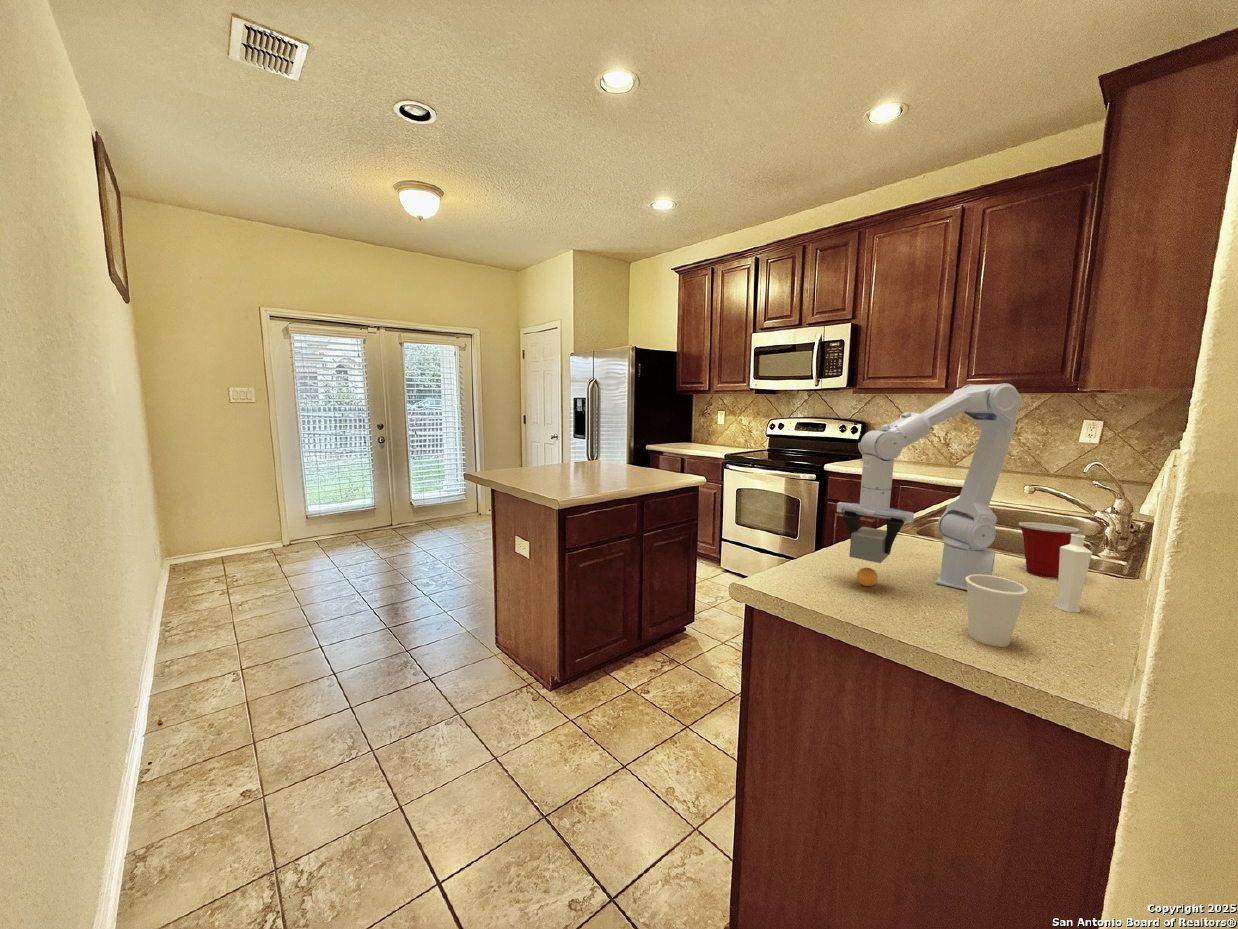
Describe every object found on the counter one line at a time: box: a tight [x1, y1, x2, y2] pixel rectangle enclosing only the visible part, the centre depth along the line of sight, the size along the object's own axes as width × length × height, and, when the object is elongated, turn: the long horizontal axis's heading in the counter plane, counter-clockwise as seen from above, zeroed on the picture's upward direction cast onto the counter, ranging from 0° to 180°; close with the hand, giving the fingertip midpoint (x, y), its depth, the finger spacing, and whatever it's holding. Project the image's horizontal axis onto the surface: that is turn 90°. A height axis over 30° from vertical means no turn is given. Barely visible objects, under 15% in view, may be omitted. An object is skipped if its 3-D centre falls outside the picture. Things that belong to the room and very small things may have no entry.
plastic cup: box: [1018, 521, 1080, 578], centre depth 115 cm, size 11×11×12 cm
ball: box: [856, 567, 878, 587], centre depth 106 cm, size 4×4×4 cm
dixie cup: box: [966, 574, 1029, 648], centre depth 83 cm, size 8×8×10 cm
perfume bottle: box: [1053, 533, 1093, 613], centre depth 95 cm, size 5×4×15 cm
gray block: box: [849, 526, 891, 564], centre depth 105 cm, size 6×9×5 cm, turn 139°
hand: (870, 549), depth 105 cm, fingers closed on gray block, 6 cm apart
